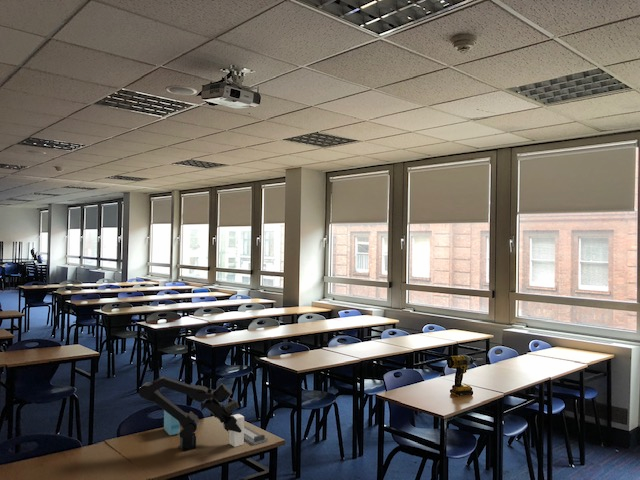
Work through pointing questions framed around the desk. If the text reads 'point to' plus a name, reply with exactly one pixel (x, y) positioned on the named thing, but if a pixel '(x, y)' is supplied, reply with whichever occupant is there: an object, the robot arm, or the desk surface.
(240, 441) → the block
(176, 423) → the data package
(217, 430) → the desk surface
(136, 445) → the desk surface
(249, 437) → the mounting plate
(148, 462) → the desk surface
